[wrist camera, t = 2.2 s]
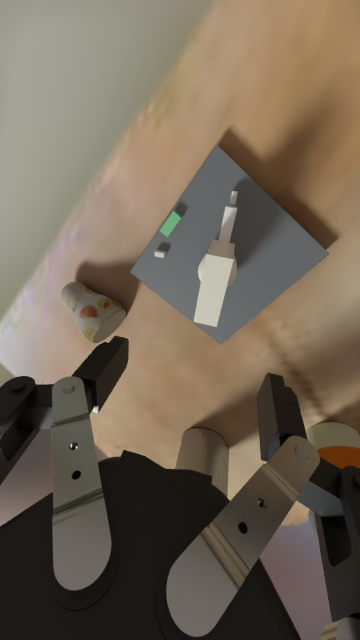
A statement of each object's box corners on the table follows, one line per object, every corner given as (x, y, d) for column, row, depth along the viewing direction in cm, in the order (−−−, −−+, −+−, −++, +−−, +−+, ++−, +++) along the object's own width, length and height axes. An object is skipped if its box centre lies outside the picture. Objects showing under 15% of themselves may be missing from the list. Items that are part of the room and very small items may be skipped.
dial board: (325, 250, 29) (332, 256, 26) (221, 339, 38) (220, 348, 36) (217, 146, 26) (215, 143, 24) (133, 268, 35) (126, 274, 33)
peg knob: (229, 293, 32) (226, 329, 24) (197, 286, 32) (183, 319, 25) (251, 208, 26) (256, 220, 19) (212, 202, 27) (201, 211, 19)
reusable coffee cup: (300, 461, 48) (322, 563, 35) (285, 419, 43) (303, 518, 31) (376, 458, 43) (432, 573, 31) (367, 410, 39) (430, 523, 26)
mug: (75, 263, 37) (72, 294, 29) (128, 292, 43) (138, 324, 35) (52, 300, 39) (44, 338, 31) (106, 323, 45) (110, 360, 37)
